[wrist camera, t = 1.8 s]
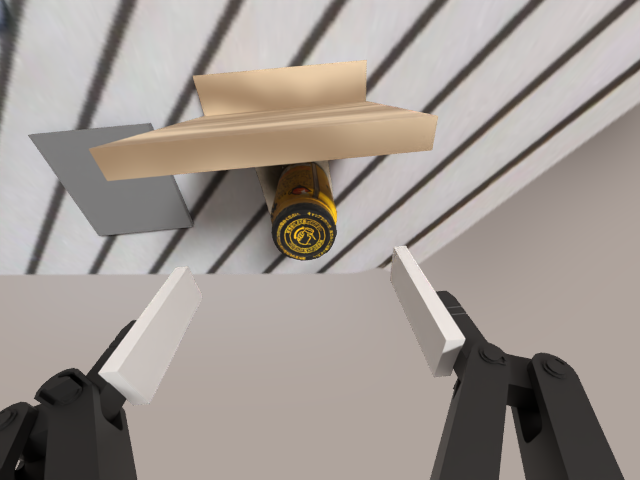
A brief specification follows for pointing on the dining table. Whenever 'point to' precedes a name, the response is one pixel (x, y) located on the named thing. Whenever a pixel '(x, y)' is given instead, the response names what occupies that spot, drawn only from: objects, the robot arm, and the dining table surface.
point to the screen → (272, 125)
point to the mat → (112, 184)
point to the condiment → (300, 207)
